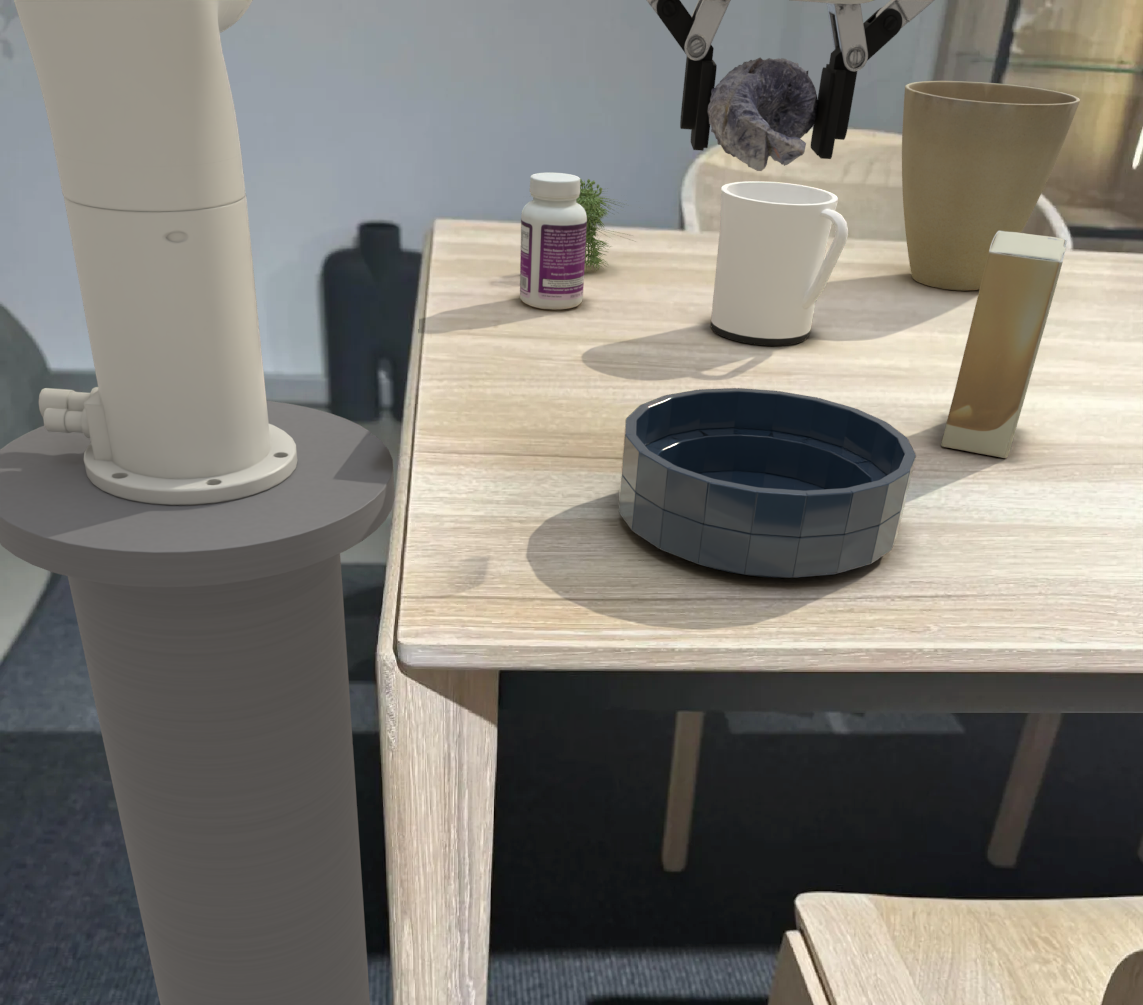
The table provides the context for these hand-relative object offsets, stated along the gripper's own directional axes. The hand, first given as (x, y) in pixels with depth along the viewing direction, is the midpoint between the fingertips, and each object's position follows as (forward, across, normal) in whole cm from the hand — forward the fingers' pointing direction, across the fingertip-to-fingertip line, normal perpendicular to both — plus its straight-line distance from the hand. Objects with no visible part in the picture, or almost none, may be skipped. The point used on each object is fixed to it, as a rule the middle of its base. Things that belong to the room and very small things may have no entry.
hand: (760, 146), depth 63 cm
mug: (+18, +6, +28) cm, 34 cm away
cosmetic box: (+18, +18, +7) cm, 26 cm away
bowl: (+17, +1, -9) cm, 19 cm away
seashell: (+1, 0, 0) cm, 1 cm away
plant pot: (+18, +26, +50) cm, 59 cm away
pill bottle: (+18, -12, +34) cm, 40 cm away
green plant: (+18, -9, +46) cm, 50 cm away
